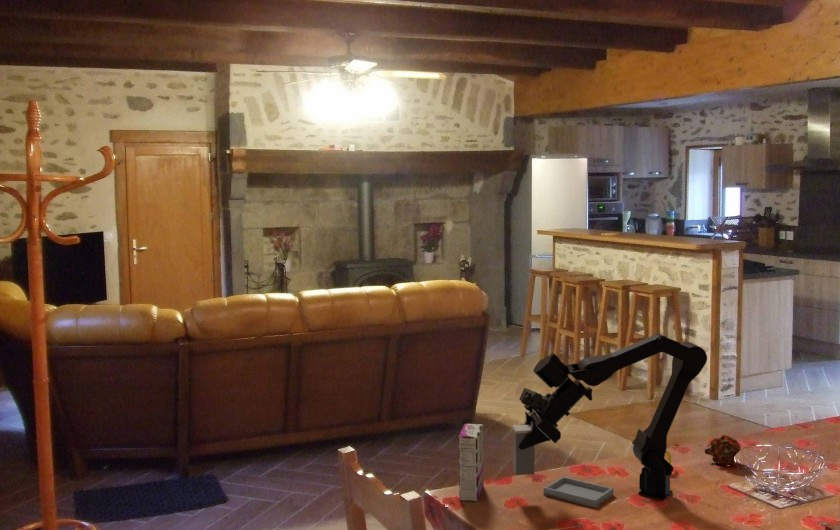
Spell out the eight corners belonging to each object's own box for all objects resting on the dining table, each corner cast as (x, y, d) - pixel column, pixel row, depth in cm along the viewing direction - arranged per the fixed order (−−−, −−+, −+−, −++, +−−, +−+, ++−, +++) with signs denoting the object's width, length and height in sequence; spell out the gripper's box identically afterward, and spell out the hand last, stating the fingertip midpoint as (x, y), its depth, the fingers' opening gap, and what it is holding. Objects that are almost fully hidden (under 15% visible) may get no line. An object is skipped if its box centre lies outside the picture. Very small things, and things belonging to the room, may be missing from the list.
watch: (654, 473, 217) (653, 452, 216) (648, 470, 220) (647, 448, 219) (673, 469, 219) (672, 448, 218) (667, 466, 222) (666, 445, 221)
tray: (613, 495, 201) (613, 488, 201) (595, 507, 193) (595, 500, 193) (563, 483, 210) (563, 476, 210) (543, 494, 202) (543, 487, 202)
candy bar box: (464, 484, 209) (464, 422, 208) (484, 486, 208) (483, 423, 207) (458, 501, 198) (457, 435, 197) (478, 502, 197) (478, 436, 196)
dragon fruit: (733, 477, 217) (711, 469, 229) (756, 457, 218) (733, 449, 230) (714, 452, 217) (694, 445, 228) (737, 432, 218) (716, 426, 230)
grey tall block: (531, 467, 202) (531, 424, 201) (534, 474, 197) (534, 430, 196) (512, 468, 201) (512, 425, 200) (515, 474, 197) (515, 430, 196)
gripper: (532, 369, 207) (489, 412, 207) (547, 387, 188) (500, 434, 188) (562, 398, 208) (520, 442, 208) (580, 419, 189) (533, 466, 190)
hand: (518, 445), depth 199 cm, fingers closed on grey tall block, 4 cm apart
